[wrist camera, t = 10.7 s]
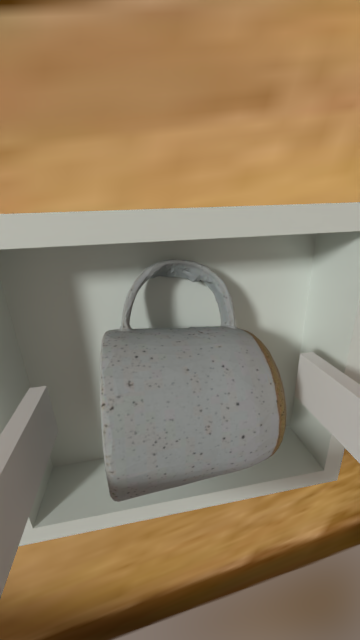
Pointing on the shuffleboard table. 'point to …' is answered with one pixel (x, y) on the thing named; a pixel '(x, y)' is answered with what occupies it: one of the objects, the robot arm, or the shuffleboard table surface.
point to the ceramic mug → (185, 396)
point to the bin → (171, 312)
